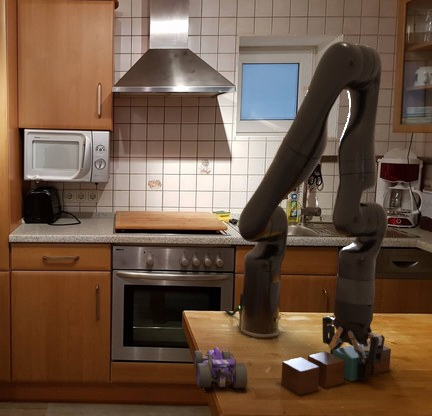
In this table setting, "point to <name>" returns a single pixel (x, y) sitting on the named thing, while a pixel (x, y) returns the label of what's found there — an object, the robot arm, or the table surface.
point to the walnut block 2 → (328, 368)
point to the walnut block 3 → (384, 363)
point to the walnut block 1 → (300, 376)
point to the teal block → (349, 362)
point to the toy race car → (219, 369)
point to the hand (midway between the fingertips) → (348, 372)
